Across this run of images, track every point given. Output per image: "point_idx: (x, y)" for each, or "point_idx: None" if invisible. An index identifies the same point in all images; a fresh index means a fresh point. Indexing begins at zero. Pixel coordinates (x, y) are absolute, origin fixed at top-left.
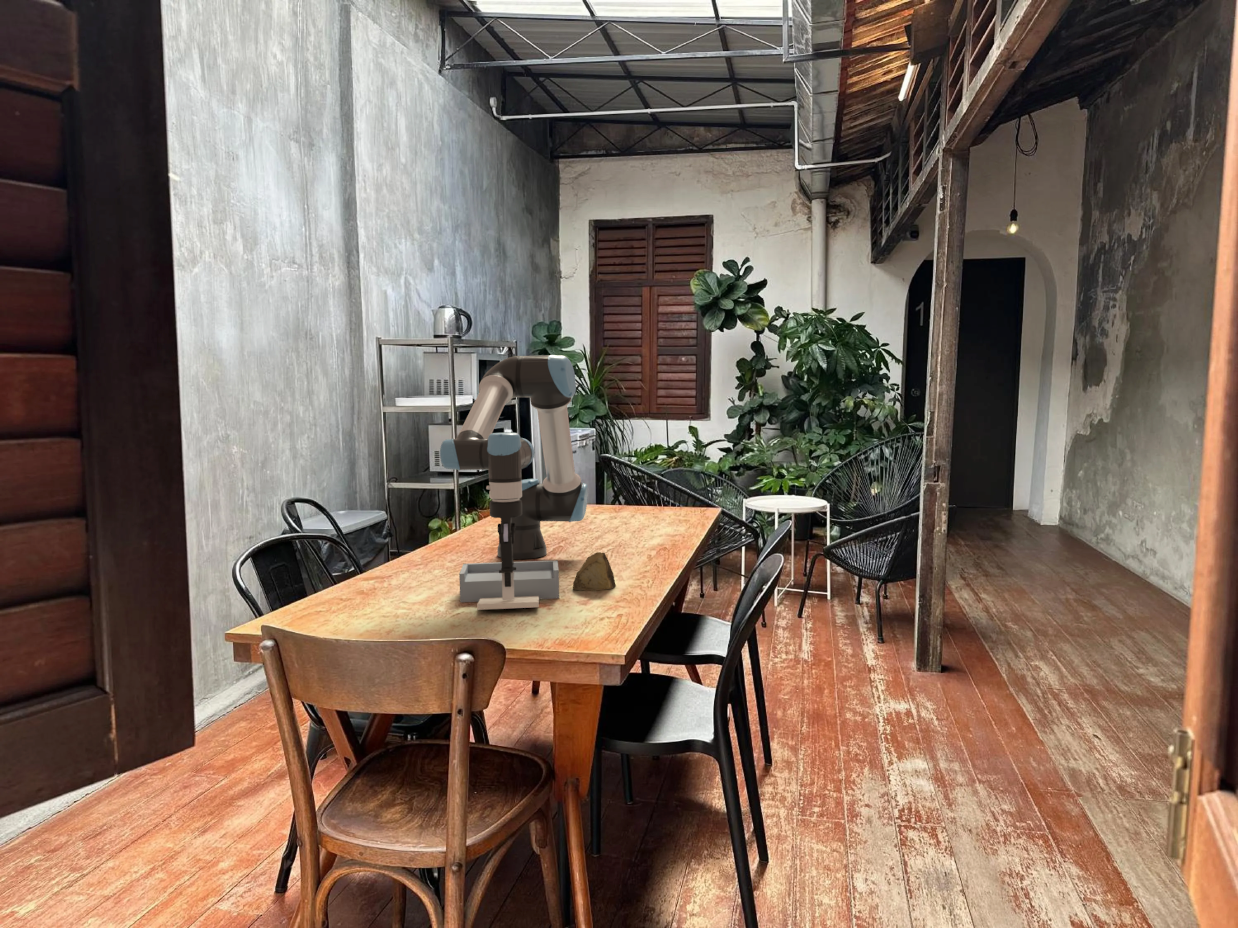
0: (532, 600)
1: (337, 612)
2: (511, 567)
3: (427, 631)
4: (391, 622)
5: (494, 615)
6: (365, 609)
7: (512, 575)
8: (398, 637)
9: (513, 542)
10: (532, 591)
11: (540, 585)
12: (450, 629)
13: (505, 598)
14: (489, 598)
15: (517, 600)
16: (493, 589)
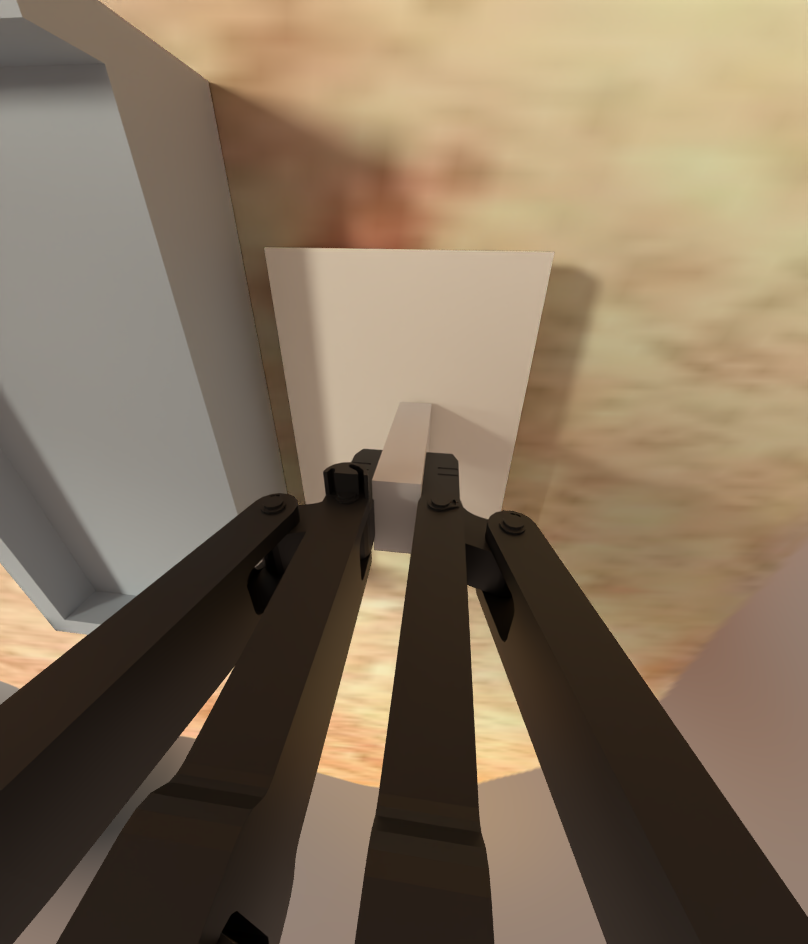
0: (463, 295)
1: (377, 743)
2: (548, 548)
3: (627, 641)
4: (492, 690)
5: (512, 469)
6: (359, 715)
7: (421, 476)
8: (649, 687)
9: (486, 876)
10: (224, 289)
11: (186, 227)
12: (640, 596)
13: (428, 447)
14: (324, 493)
15: (428, 384)
16: (260, 491)
